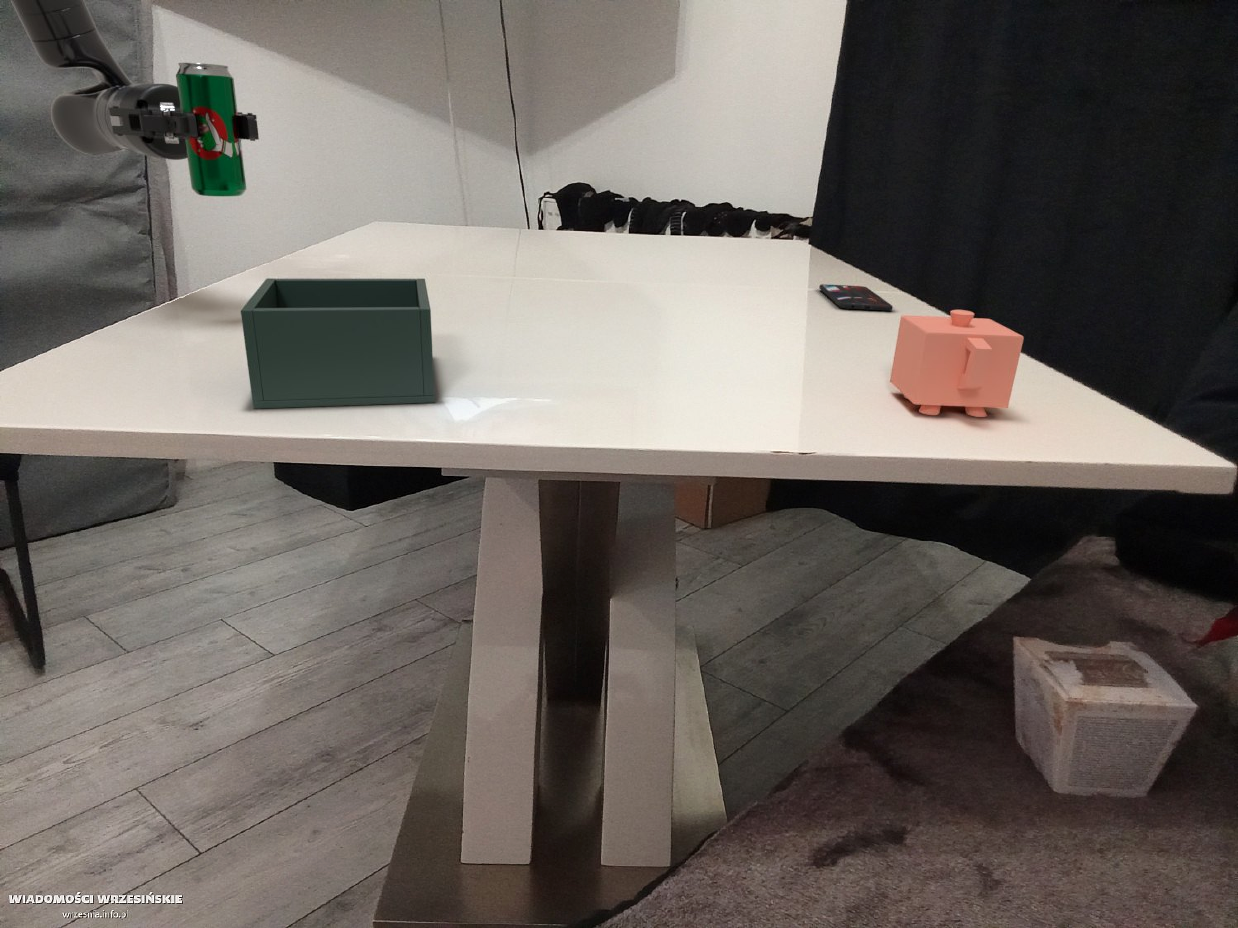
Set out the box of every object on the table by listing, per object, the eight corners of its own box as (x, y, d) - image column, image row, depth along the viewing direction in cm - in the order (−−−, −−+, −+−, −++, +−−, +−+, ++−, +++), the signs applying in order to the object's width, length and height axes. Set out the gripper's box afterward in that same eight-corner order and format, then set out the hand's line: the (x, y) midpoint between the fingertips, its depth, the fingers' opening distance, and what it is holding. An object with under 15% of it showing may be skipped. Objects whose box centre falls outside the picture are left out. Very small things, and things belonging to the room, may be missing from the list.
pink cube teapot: (960, 385, 78) (977, 298, 75) (1016, 428, 67) (1039, 327, 64) (877, 382, 78) (892, 294, 75) (920, 424, 67) (939, 323, 64)
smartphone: (841, 304, 110) (818, 283, 124) (840, 309, 110) (817, 288, 124) (895, 306, 110) (866, 286, 124) (894, 311, 110) (865, 290, 124)
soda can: (223, 191, 87) (207, 66, 83) (258, 195, 85) (243, 67, 81) (181, 193, 83) (161, 61, 79) (216, 198, 81) (199, 62, 77)
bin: (253, 409, 63) (240, 310, 61) (276, 362, 76) (266, 278, 73) (434, 402, 67) (430, 308, 64) (428, 359, 79) (424, 278, 76)
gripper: (74, 78, 84) (137, 78, 74) (217, 88, 94) (290, 89, 84) (88, 157, 87) (150, 167, 77) (225, 158, 97) (297, 168, 87)
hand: (223, 127), depth 80 cm, fingers closed on soda can, 5 cm apart
